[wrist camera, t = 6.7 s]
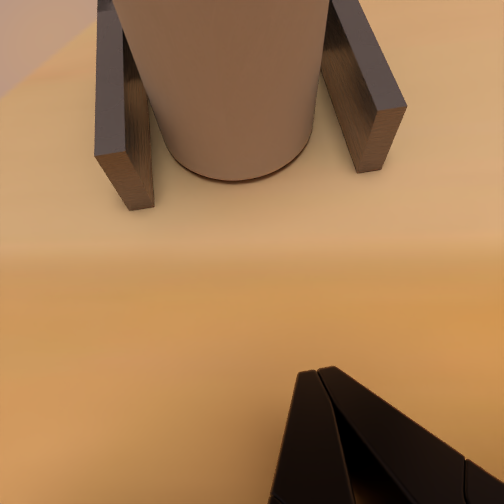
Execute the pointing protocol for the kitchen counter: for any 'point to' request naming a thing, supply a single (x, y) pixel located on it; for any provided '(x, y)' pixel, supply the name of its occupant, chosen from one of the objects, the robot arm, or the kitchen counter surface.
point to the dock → (332, 67)
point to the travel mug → (229, 78)
